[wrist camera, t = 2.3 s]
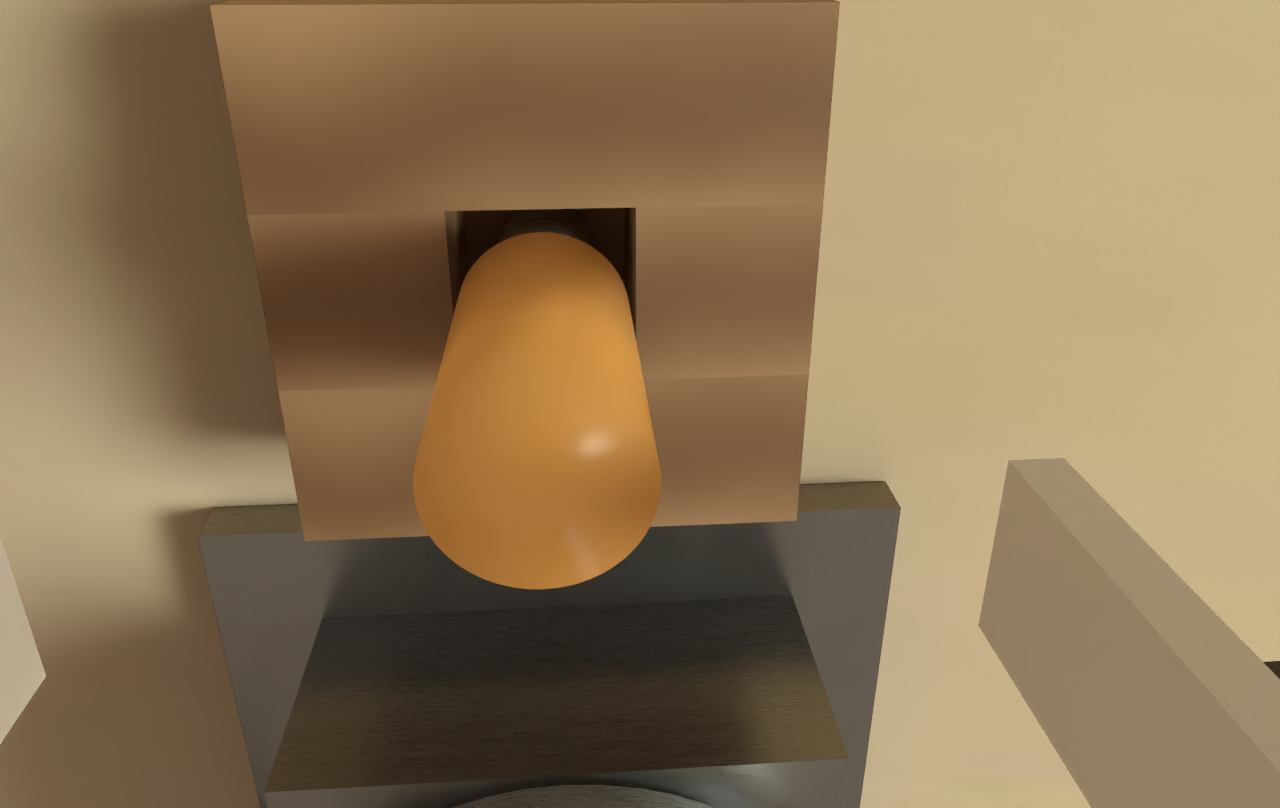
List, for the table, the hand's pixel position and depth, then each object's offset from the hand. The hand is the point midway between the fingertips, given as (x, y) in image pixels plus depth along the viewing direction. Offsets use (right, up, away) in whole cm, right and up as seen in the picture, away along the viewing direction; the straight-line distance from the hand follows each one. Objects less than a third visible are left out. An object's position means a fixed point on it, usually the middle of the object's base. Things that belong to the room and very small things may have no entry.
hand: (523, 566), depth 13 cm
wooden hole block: (-1, +7, +13) cm, 15 cm away
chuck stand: (-1, -10, +21) cm, 23 cm away
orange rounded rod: (-1, +6, +12) cm, 14 cm away
